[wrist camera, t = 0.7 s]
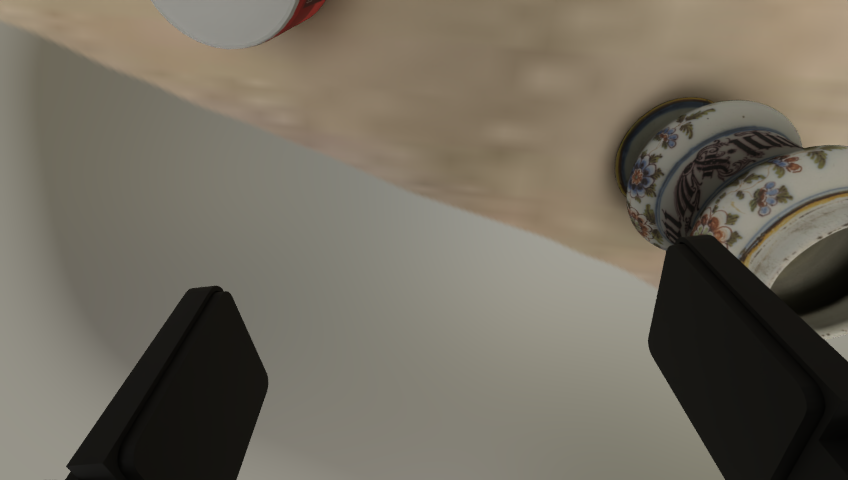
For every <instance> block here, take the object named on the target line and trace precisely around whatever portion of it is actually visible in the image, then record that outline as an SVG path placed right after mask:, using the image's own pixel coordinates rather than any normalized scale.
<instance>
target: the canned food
mask: <svg viewBox="0 0 848 480" xmlns="http://www.w3.org/2000/svg"><path fill="white" fill-rule="evenodd" d="M151 1H152V3H153V4H154V6H155V7H156V8H157V10H158V11H159V12H160V13H161V14H162V15H163V16H164V17H165V18H166V19H167V21H168V22H169V23H171V24H172V25H173V26H174V27H176V28H177V29H178V30H179V31H181V32H182V33H183V34H185V35H187V36H189V37H190V38H192V39H194V40H196V41H197V42H200V43H203V44H206V45H209V46H212V47H217V48H223V49H243V48H248V47H252V46H256V45H260V44H262V43H264V42H267V41H268V40H270V39H272V38H274V37H276V36H278V35H280V34H281V33H283V32H285V31H287V30H289V29H291V28H292V27H294V26H296V25H298V24H300V23H301V22H303V21H305V20H307V19H309V18H310V17H311V16H312V15H314V14H315V13H316V12H317V11H318V10H319V9H320V7H321V6H322V5H323V3H324V2H325V0H151Z"/></svg>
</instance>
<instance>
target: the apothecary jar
mask: <svg viewBox="0 0 848 480" xmlns="http://www.w3.org/2000/svg"><path fill="white" fill-rule="evenodd" d="M615 176H616V180H617V184H618V186H619V189H620V190H621V192H622V193H623V194H624V196H625V197H626V198H627V208H628V212H629V216H630V218H631V221H632V223H633V225H634V226H635V228H636V229H637V231H638V232H639V233H640V234H641V235H642V236H643V237H644V238H645V239H646V240H647V241H649V242H650V243H652V244H653V245H655V246H657V247H659V248H661V249H663V250H666V251H667V248H668V247H669V246H671V245H674V244H675V241H676V240H677V239H678V238H680V237H687V236H696V235H706V234H709V235H712V236H714V237H715V238H716V239H717V240H718V241H719V242H721V243H722V244H723V245H724V246H725V247H726V248H727V249H728V250H729V251H730V252H731V253H732V254H733V255H734V256H735V257H737V258H738V259H739V260H740V261H741V262H742V263H743V264H744V265H745V266H746V267H747V268H748V269H749V270H750V271H751V272H753V273H754V274H755V275H756V276H757V277H758V278H759V279H760V280H761V281H762V282H763V283H764V284H765V285H766V286H767V287H769V288H770V289H771V290H772V291H773V292H774V293H775V294H776V295H777V296H778V297H779V298H780V299H781V300H782V301H784V302H785V303H786V304H787V305H788V306H789V307H790V308H791V309H792V310H793V311H794V312H795V313H796V314H797V315H798V316H800V317H801V318H802V319H803V320H804V321H805V322H806V323H807V324H808V325H809V326H810V327H811V328H812V329H813V330H814V331H816V332H817V333H818V334H819V335H820V336H821V337H822V338H823V339H829V338H834V337H838V336H841V335H844V334H847V333H848V146H841V145H824V146H814V147H808V148H803V147H802V143H801V139H800V136H799V134H798V132H797V130H796V129H795V127H794V126H793V124H792V123H791V122H790V121H789V120H788V119H787V118H786V117H785V116H784V115H783V114H781V113H780V112H778V111H777V110H775V109H773V108H771V107H769V106H767V105H764V104H761V103H757V102H752V101H744V100H731V101H722V102H716V103H714V102H712V101H710V100H707V99H702V98H680V99H675V100H671V101H668V102H666V103H663V104H661V105H659V106H657V107H655V108H654V109H652V110H651V111H649V112H648V113H647V114H645V115H644V116H643V117H641V118H640V119H639V120H638V121H637V122H636V123H635V124H634V125H633V126H632V128H631V129H630V130H629V131H628V133H627V134H626V136H625V137H624V139H623V141H622V143H621V145H620V147H619V150H618V153H617V156H616V162H615Z"/></svg>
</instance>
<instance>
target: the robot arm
mask: <svg viewBox="0 0 848 480" xmlns="http://www.w3.org/2000/svg"><path fill="white" fill-rule="evenodd" d="M648 344H649V350H650V352H651V355H652V357H653V358H654V360H655V362H656V363H657V365H658V367H659V369H660V370H661V372H662V374H663V375H664V377H665V378H666V380H667V382H668V384H669V385H670V387H671V389H672V390H673V392H674V394H675V396H676V397H677V399H678V401H679V402H680V404H681V406H682V407H683V409H684V411H685V413H686V414H687V416H688V418H689V419H690V421H691V423H692V424H693V426H694V428H695V429H696V431H697V433H698V434H699V436H700V438H701V440H702V441H703V443H704V445H705V446H706V448H707V449H708V451H709V453H710V455H711V456H712V458H713V460H714V462H715V463H716V465H717V466H718V468H719V470H720V472H721V473H722V475H723V476H724V478H725V480H848V362H847V360H845V359H844V358H843V357H842V356H841V355H840V354H839V353H838V352H837V351H836V350H835V349H834V348H833V347H832V346H830V345H829V344H828V343H827V342H826V341H825V340H824V339H823V338H822V337H821V336H820V335H819V334H818V333H817V332H816V331H814V330H813V329H812V328H811V327H810V326H809V325H808V324H807V323H806V322H805V321H804V320H803V319H802V318H801V317H800V316H798V315H797V314H796V313H795V312H794V311H793V310H792V309H791V308H790V307H789V306H788V305H787V304H786V303H785V302H784V301H782V300H781V299H780V298H779V297H778V296H777V295H776V294H775V293H774V292H773V291H772V290H771V289H770V288H769V287H767V286H766V285H765V284H764V283H763V282H762V281H761V280H760V279H759V278H758V277H757V276H756V275H755V274H754V273H753V272H751V271H750V270H749V269H748V268H747V267H746V266H745V265H744V264H743V263H742V262H741V261H740V260H739V259H738V258H737V257H735V256H734V255H733V254H732V253H731V252H730V251H729V250H728V249H727V248H726V247H725V246H724V245H723V244H722V243H721V242H719V241H718V240H717V239H716V238H715V237H714V236H712V235H709V234H706V235H696V236H687V237H680V238H678V239H677V240H676V241H675V244H674V245H671V246H669V247H668V248H667V251H666V256H665V260H664V265H663V270H662V275H661V280H660V284H659V289H658V294H657V299H656V304H655V308H654V313H653V318H652V323H651V327H650V333H649V338H648ZM267 389H268V376H267V373H266V371H265V369H264V366H263V364H262V362H261V360H260V357H259V355H258V353H257V351H256V348H255V346H254V344H253V342H252V340H251V337H250V335H249V333H248V331H247V329H246V326H245V324H244V322H243V320H242V317H241V315H240V313H239V311H238V308H237V306H236V304H235V302H234V300H233V297H232V296H231V294H230V293H229V292H226V291H225V292H224V291H223V289H222V288H221V287H219V286H210V287H200V288H192V289H189V290H188V291H187V292H186V293H185V295H184V296H183V298H182V299H181V301H180V302H179V303H178V305H177V306H176V308H175V309H174V311H173V312H172V314H171V315H170V316H169V318H168V319H167V321H166V322H165V324H164V325H163V327H162V328H161V330H160V331H159V332H158V334H157V335H156V337H155V339H154V340H153V341H152V343H151V344H150V346H149V347H148V348H147V350H146V351H145V353H144V354H143V356H142V357H141V359H140V360H139V361H138V363H137V364H136V366H135V368H134V369H133V370H132V372H131V373H130V375H129V376H128V377H127V379H126V380H125V382H124V383H123V385H122V386H121V388H120V389H119V390H118V392H117V394H116V395H115V396H114V398H113V399H112V401H111V402H110V404H109V405H108V406H107V408H106V409H105V411H104V412H103V414H102V415H101V417H100V418H99V420H98V421H97V422H96V424H95V425H94V427H93V428H92V430H91V431H90V433H89V434H88V435H87V437H86V438H85V440H84V441H83V443H82V444H81V446H80V447H79V449H78V450H77V451H76V453H75V454H74V456H73V457H72V459H71V460H70V462H69V463H68V464H67V466H66V467H67V468H68V469H69V470H70V471H71V472H70V473H69V475H68V476H67V478H66V479H65V480H236V479H237V476H238V474H239V471H240V468H241V465H242V462H243V459H244V456H245V453H246V450H247V448H248V445H249V442H250V439H251V436H252V433H253V430H254V427H255V424H256V422H257V419H258V416H259V413H260V410H261V407H262V404H263V401H264V398H265V395H266V392H267Z"/></svg>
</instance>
